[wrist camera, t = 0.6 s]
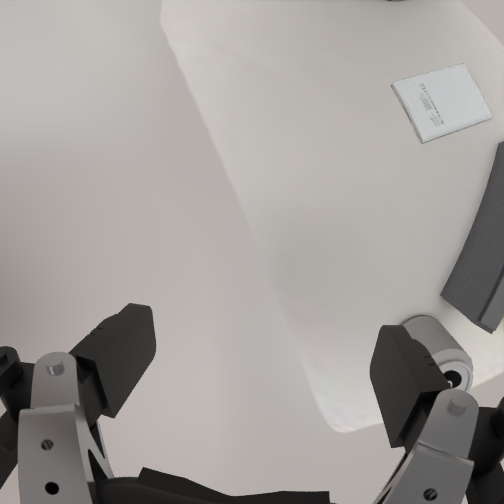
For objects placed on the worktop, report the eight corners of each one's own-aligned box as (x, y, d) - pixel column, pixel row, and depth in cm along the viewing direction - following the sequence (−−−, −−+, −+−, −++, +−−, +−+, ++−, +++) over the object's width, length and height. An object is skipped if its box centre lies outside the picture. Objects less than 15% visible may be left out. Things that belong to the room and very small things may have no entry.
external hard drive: (488, 120, 26) (420, 144, 30) (459, 67, 26) (389, 86, 29) (493, 117, 25) (424, 142, 28) (463, 62, 25) (392, 81, 28)
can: (452, 330, 31) (491, 374, 20) (417, 373, 33) (441, 428, 21) (415, 302, 32) (450, 343, 20) (378, 349, 34) (396, 404, 22)
